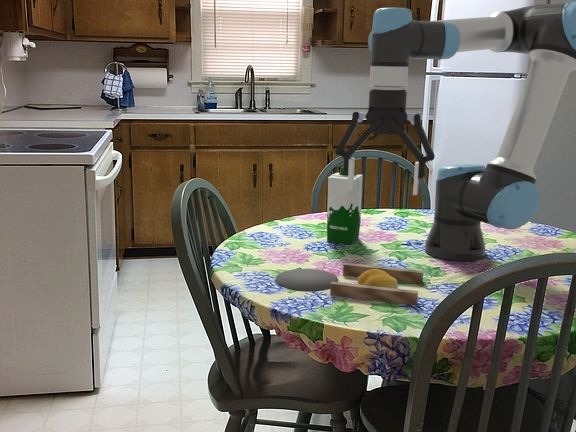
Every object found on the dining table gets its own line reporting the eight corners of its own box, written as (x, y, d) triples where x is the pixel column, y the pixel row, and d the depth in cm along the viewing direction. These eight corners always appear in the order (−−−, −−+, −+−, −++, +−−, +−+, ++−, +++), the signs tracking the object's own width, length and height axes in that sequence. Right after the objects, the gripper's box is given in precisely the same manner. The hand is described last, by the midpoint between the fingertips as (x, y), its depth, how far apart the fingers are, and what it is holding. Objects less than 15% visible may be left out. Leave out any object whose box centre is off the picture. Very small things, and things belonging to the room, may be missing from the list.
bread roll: (371, 298, 133) (372, 280, 132) (352, 284, 141) (353, 267, 140) (405, 294, 136) (406, 276, 135) (385, 280, 144) (386, 263, 143)
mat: (343, 273, 147) (343, 272, 147) (330, 294, 134) (330, 292, 134) (286, 267, 151) (286, 266, 151) (267, 286, 138) (267, 285, 138)
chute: (422, 281, 143) (423, 271, 142) (416, 305, 129) (417, 293, 128) (344, 272, 148) (344, 262, 147) (330, 294, 134) (330, 283, 133)
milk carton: (362, 237, 178) (365, 167, 173) (353, 246, 169) (356, 172, 165) (332, 234, 181) (335, 164, 176) (322, 242, 173) (324, 169, 168)
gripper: (452, 89, 128) (444, 192, 133) (331, 85, 135) (328, 184, 140) (450, 91, 121) (442, 199, 126) (323, 87, 128) (320, 190, 133)
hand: (382, 191), depth 133 cm, fingers open, 13 cm apart
